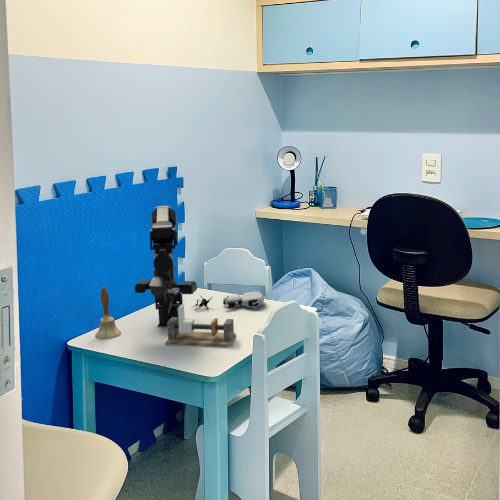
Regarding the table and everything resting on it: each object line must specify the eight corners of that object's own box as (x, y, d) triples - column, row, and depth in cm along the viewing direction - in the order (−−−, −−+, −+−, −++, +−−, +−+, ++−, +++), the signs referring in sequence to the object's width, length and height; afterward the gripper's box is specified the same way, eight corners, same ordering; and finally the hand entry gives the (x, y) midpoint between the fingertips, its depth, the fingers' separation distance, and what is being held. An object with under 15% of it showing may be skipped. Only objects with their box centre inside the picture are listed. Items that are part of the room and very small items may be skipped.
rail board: (165, 344, 200) (164, 324, 199) (175, 333, 210) (174, 314, 208) (228, 347, 196) (227, 326, 195) (235, 336, 206) (235, 316, 204)
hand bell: (113, 339, 206) (109, 291, 203) (90, 338, 209) (86, 290, 205) (125, 331, 214) (122, 284, 210) (103, 329, 216) (99, 283, 213)
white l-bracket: (179, 333, 202) (177, 307, 200) (182, 329, 205) (181, 304, 204) (191, 333, 201) (190, 308, 200) (194, 329, 205) (193, 304, 203)
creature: (205, 317, 230) (217, 306, 236) (202, 303, 228) (214, 293, 234) (187, 314, 234) (199, 303, 240) (184, 301, 232) (197, 291, 238)
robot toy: (224, 315, 231) (266, 309, 232) (223, 302, 230) (264, 297, 231) (223, 305, 243) (262, 300, 244) (222, 293, 242) (261, 288, 243)
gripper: (126, 270, 194) (129, 320, 197) (185, 272, 190) (188, 322, 194) (139, 262, 205) (142, 309, 208) (196, 263, 201) (198, 311, 204)
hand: (167, 313), depth 203 cm, fingers closed
